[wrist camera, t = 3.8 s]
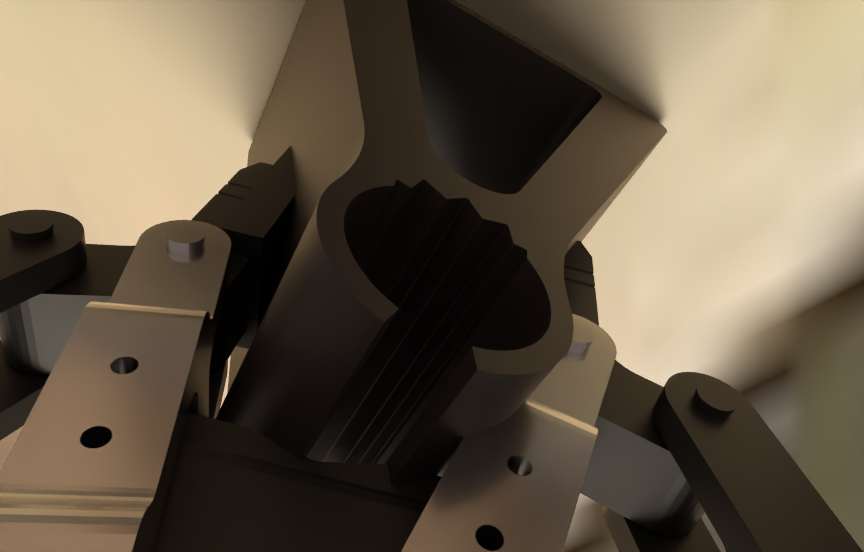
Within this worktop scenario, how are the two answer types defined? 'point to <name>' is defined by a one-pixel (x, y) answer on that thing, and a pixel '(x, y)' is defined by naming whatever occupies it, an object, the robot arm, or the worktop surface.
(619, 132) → the phone stand
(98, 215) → the worktop surface
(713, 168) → the worktop surface
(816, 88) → the worktop surface
